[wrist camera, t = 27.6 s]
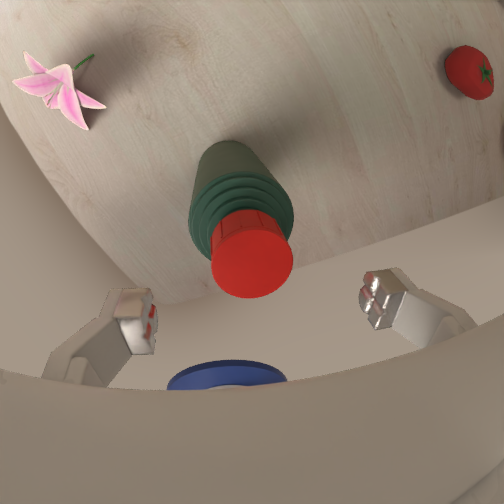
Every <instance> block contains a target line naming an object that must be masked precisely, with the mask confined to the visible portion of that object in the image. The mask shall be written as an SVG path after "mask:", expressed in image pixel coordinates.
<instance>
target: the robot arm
mask: <svg viewBox="0 0 504 504" xmlns="http://www.w3.org/2000/svg"><path fill="white" fill-rule="evenodd" d="M363 282H364V283H365V285H364V286H363V287H362V289H360V293H359V304H360V307H361V309H362V311H363V312H365V313H366V314H368V315H369V316H368V320H369V322H370V323H371V325H372V326H373V328H374V330H380V329H384V328H390V327H392V328H393V329H394V330H396V331H397V332H398V333H400V334H401V335H402V336H404V337H405V338H406V339H408V340H409V341H411V342H412V343H413V344H415V345H416V346H417V347H419V348H420V349H419V350H416V351H414V352H411V353H408V354H404V355H401V356H399V357H394V358H391V359H388V360H385V361H381V362H377V363H374V364H370V365H366V366H362V367H358V368H354V369H350V370H345V371H341V372H336V373H332V374H327V375H322V376H317V377H312V378H305V379H300V380H294V381H287V382H280V383H273V384H265V385H256V386H242V385H222V386H216V387H212V388H209V389H205V390H136V389H119V388H107V386H108V385H109V383H110V382H111V381H112V379H113V378H114V377H115V376H116V375H117V374H118V372H119V371H120V370H121V369H122V367H123V366H124V365H125V364H126V363H127V361H128V360H129V359H130V357H131V355H149V354H150V355H153V354H154V348H155V342H156V340H155V337H154V334H155V333H156V332H157V329H158V316H157V310H156V307H155V306H154V305H153V304H152V300H153V295H152V291H151V289H150V288H124V289H123V288H122V289H121V288H118V289H111V290H110V291H109V293H108V295H107V298H106V300H105V302H104V305H103V307H102V310H101V312H100V315H99V317H98V318H94V319H93V320H91V321H90V322H89V323H88V324H86V325H85V326H84V327H83V328H81V329H80V330H79V331H78V332H76V333H75V334H74V335H73V336H71V337H70V338H69V339H67V340H66V341H65V342H64V343H63V344H61V345H60V346H59V347H58V348H56V349H55V350H54V351H53V352H51V354H50V357H49V359H48V362H47V364H46V367H45V369H44V372H43V374H42V377H41V378H37V377H32V376H27V375H23V374H19V373H15V372H10V371H7V370H3V369H0V504H504V314H502V315H500V316H498V317H496V318H494V319H492V320H490V321H488V322H486V323H484V324H482V325H480V326H478V325H477V324H476V323H475V322H474V320H473V319H472V318H471V317H470V316H469V314H468V313H467V312H466V311H465V310H464V309H462V308H460V307H458V306H456V305H454V304H452V303H450V302H448V301H446V300H443V299H442V298H439V297H437V296H435V295H433V294H431V293H429V292H427V291H425V290H423V289H418V288H417V287H416V286H415V285H414V284H413V283H412V281H411V280H410V279H409V278H408V277H407V276H406V275H405V274H404V273H403V272H402V270H401V269H399V268H390V269H386V270H378V271H370V272H366V274H365V275H364V279H363Z"/></svg>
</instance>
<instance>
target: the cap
mask: <svg viewBox="0 0 504 504" xmlns="http://www.w3.org/2000/svg"><path fill="white" fill-rule="evenodd" d="M210 242H211V269H212V274H213V277H214V279H215V281H216V283H217V284H218V286H219V287H220V288H221V289H223V290H224V291H225V292H227V293H229V294H230V295H233V296H236V297H240V298H258V297H262V296H265V295H268V294H269V293H272V292H274V291H275V290H277V289H278V288H279V287H280V286H282V284H283V283H284V282H285V281H286V280H287V278H288V277H289V275H290V273H291V270H292V266H293V255H292V252H291V248H290V246H289V244H288V242H287V240H286V238H285V236H284V234H283V233H282V231H281V229H280V227H279V225H278V224H277V222H276V220H275V219H274V218H272V217H270V216H269V215H267V214H266V213H263V212H261V211H258V210H240V211H237V212H234V213H231V214H229V215H228V216H226V217H225V218H223V219H222V220H221V221H219V223H218V225H217V226H216V228H215V229H214V231H213V234H212V237H210Z"/></svg>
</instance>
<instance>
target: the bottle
mask: <svg viewBox="0 0 504 504" xmlns="http://www.w3.org/2000/svg"><path fill="white" fill-rule="evenodd" d="M240 210H258V211H261V212H263V213H266V214H267V215H269V216H270V217H272V218H274V219H275V220H276V222H277V224H278V225H279V227H280V229H281V231H282V233H283V234H284V236H285V238H286V240H287V241H288V239H289V237H290V234H291V231H292V228H293V222H294V213H293V207H292V203H291V201H290V199H289V196H288V195H287V193H286V192H285V190H284V189H283V188H282V186H281V185H280V184H279V183H278V182H277V180H276V179H275V178H274V177H273V175H272V174H271V173H270V172H269V170H268V169H267V168H266V167H265V166H264V164H263V163H262V162H261V161H260V160H259V158H258V157H257V156H256V155H255V154H254V152H253V151H252V150H251V149H250V148H249V147H247V146H246V145H244V144H242V143H240V142H237V141H222V142H219V143H216V144H214V145H212V146H211V147H209V148H208V149H207V150H206V151H205V152H204V154H203V155H202V157H201V159H200V162H199V165H198V170H197V175H196V180H195V185H194V190H193V195H192V200H191V206H190V211H189V219H188V225H189V232H190V235H191V238H192V240H193V242H194V244H195V246H196V247H197V249H198V250H199V251H200V252H201V253H202V254H203V255H204V256H205V257H206V258H208V259H209V260H210V261H211V242H210V237H212V234H213V231H214V229H215V228H216V226H217V225H218V223H219V221H221V220H222V219H223V218H225V217H226V216H228V215H229V214H231V213H234V212H237V211H240Z"/></svg>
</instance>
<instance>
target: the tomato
mask: <svg viewBox="0 0 504 504" xmlns="http://www.w3.org/2000/svg"><path fill="white" fill-rule="evenodd" d="M445 69H446V73H447V77H448V78H449V80H450V82H451V83H452V84H453V85H454V86H455V87H457V88H458V89H459V90H460V91H461V92H462V93H463V94H465V95H466V96H467V97H470V98H472V99H475V100H483V99H485V98H487V97H489V96H490V95H491V94H492V92H493V90H494V79H493V72H492V68H491V65H490V63H489V61H488V58H487V57H486V56H485V55H484V54H483V53H482V52H481V51H479V50H478V49H476V48H474V47H471V46H467V45H464V46H461V47H457V48H455V50H454V51H453V52H452V53H451V54H450V56H449V57H448V58H447V59H446V60H445Z"/></svg>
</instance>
